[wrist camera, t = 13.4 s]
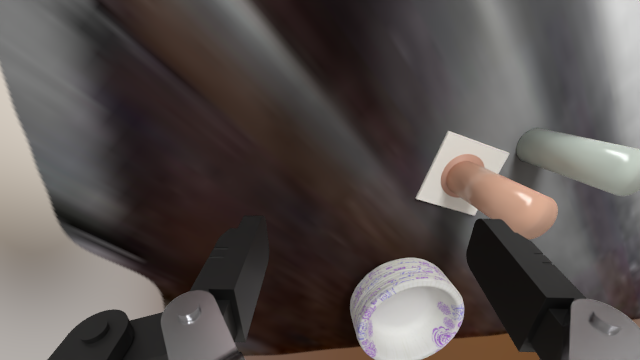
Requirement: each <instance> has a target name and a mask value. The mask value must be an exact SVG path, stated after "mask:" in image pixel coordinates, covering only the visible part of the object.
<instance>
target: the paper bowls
mask: <svg viewBox="0 0 640 360" xmlns="http://www.w3.org/2000/svg"><path fill="white" fill-rule="evenodd" d="M350 313H351V317H352V321H353V325H354V328H355V332H356V336H357V339H358V341H359V344H360V346H361V348H362V349H363V350H364V351H365V353H367V354H368V355H369V356H370V357H371V358H373V359H375V360H421V359H424V358H426V357H428V356H430V355H432V354H434V353H436V352H437V351H439V350H440V349H441V348H443V347H444V346H445V345H446V344H447V343H448V342H449V341H450V340H451V339H452V338H453V337H454V336H455V334H456V333H457V331H458V329H459V328H460V326H461V324H462V321H463V317H464V304H463V299H462V297H461V295H460V293H459V292H458V291H457V289H456V288H455V287H454V286H453V284H452V283H451V282H450V281H449V279H448V278H447V277H446V276H445V275H444V273H443V272H442V271H441V270H440V269H439V268H438V267H437V266H435V265H434V264H432V263H430V262H428V261H426V260H423V259H419V258H403V259H397V260H393V261H390V262H387V263H384V264H382V265H380V266H378V267H376V268H375V269H374V270H372V271H371V272H370V273H369V274H367V275H366V276H365V277H364V278H363V279H362V281H361V282H360V283H359V284H358V285H357V287H356V289H355V290H354V292H353V294H352V297H351V301H350Z"/></svg>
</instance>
